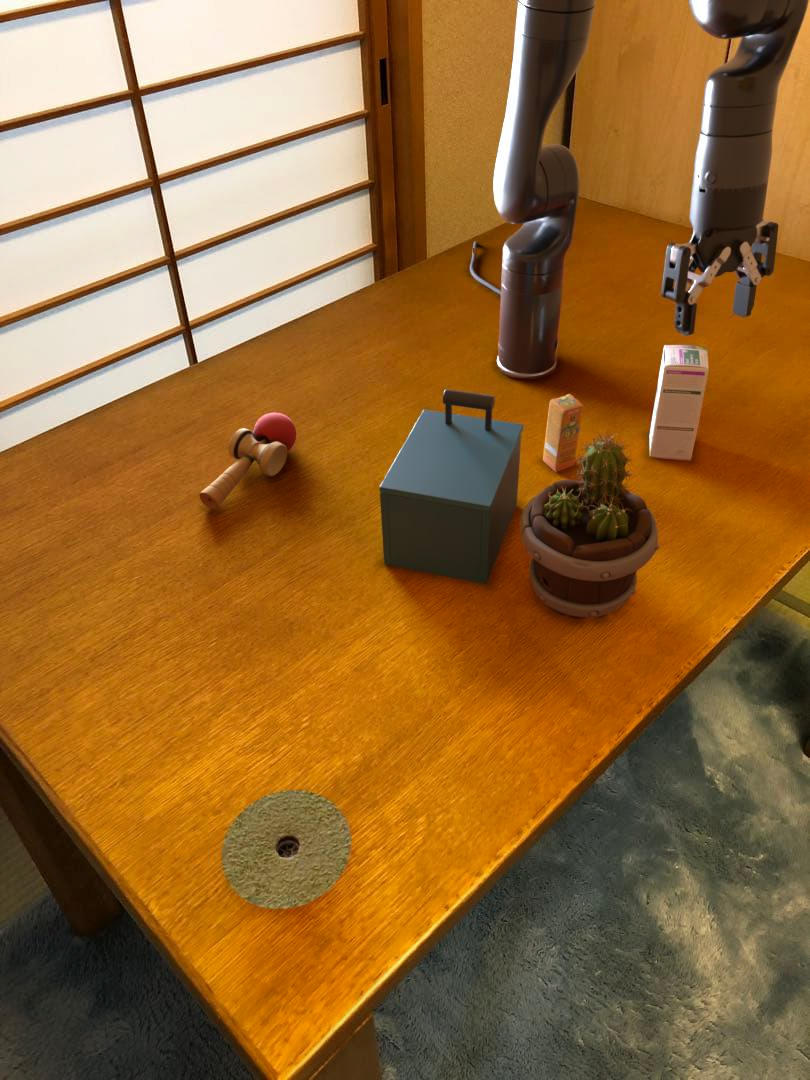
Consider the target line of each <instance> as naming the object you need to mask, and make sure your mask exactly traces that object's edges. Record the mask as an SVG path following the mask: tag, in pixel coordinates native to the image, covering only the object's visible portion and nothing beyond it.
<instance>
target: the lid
mask: <svg viewBox="0 0 810 1080" xmlns="http://www.w3.org/2000/svg"><path fill="white" fill-rule="evenodd" d="M442 404H443V405H444V412H443V411H438V410H431V409H423V410H422V411H421V414H420V415H419V417H418V418H417V420H416V422H415V423H414V426H413V428H412V429H411V431H410V433H409V434H408V437H407V438H406V440H405V442H404V443H403V445H402V447H401V449H400V450H399V452H398V453H397V455H396V457H395V459H394V461H393V462H392V464H391V466H390V467H389V469H388V471H387V473H386V475H385V477H384V479H383V480H382V481H381V483H380V485H379V494H380V493H386V494H391V495H397V496H403V497H408V498H414V499H419V500H425V501H431V502H436V503H442V504H448V505H453V506H459V507H465V508H470V509H476V510H481V511H487V512H490V511H491V508H492V506H493V503H494V501H495V499H496V496H497V494H498V491H499V489H500V486H501V484H502V481H503V479H504V476H505V474H506V471H507V469H508V466H509V464H510V461H511V459H512V456H513V454H514V451H515V449H516V446H517V444H518V441H519V439H520V436H521V437H522V433H523V431H524V426H525V425H524V424H523V423H517V422H510V421H503V420H498V419H493V410H494V408H495V404H496V397H495V395H490V394H485V393H477V392H472V391H471V392H470V391H465V390H464V391H463V390H457V389H451V388H449V389H448V388H445V389H444V391H443V395H442ZM453 406H454V407H462V408H468V409H476V410H481V411H482V410H483V411H485V415H484V416H485V417H478V416H470V415H463V414H458V413H457V414H456V413H453Z"/></svg>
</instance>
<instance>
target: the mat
mask: <svg viewBox="0 0 810 1080" xmlns="http://www.w3.org/2000/svg"><path fill="white" fill-rule="evenodd" d="M236 816H237V817H236V818H234V820H233V821H232V822H231V824H230V826H229V827H228V829H227V832H226V834H225V836H224V839H223V843H222V848H221V859H220V861H221V864H222V871H223V873H224V876H225V878H226V881H227V882H228V883H229V885H230V887H231V889H232V890H233V891H234V892H235V893H236V894H237V895H238V896H239V897H240V898H241V899H243V900H244V901H245V902H247V903H250V904H251V905H254V906H257V907H260V908H261V907H262V908H263V909H273V910H277V909H278V910H280V909H281V910H283V909H292V908H298V907H302V906H303V905H307V904H309V903H311V902H313V901H315V900H317V899H319V897H321V896H323V895H324V894H325V893H326V892H328V891H329V890H330V889H331V888H333V886H334V885H335V883H336V882H337V881H338V880H339V879H340V878H341V877H342V875H343V873H344V871H345V869H346V867H347V865H348V863H349V859H350V856H351V850H352V834H351V829H350V826H349V823H348V819H346V818H345V816H344V813H342V811H341V809H340V808H339V807H338V806H337V805H336V804H335V803H334V802H332V801H331V800H330V799H327V798H326V797H325V796H322V795H321V794H317V793H316V792H313V791H312V792H311V791H308V790H302V789H299V790H298V789H289V790H281V791H277V792H272V793H270V794H266V795H264V796H261V797H259V798H258V799H255V800H254V802H252V803H250V804H249V805H247V807H245V808H244V809H243V810H242V811H241V812H239V814H238V815H236Z"/></svg>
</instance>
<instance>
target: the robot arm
mask: <svg viewBox="0 0 810 1080" xmlns="http://www.w3.org/2000/svg"><path fill="white" fill-rule="evenodd" d="M687 2H688V5H689V8H690V11H691V14H692V16H693V18H694V20H695V22H696V23H697V25H698V27H700V29H702V30H703V31H704V32H705V33H707V34H708V35H709V36H711V37H713V38H715V39H720V40H733V39H738V38H739V39H740V41H739V43H738V46H737V48H736V51H735V53H734V55H733V56H732V57H731V59H729V60H728V61H727V62H725V63H724V64H722V65H720V66H718V67H716V68H714V69H713V70H712V71H710V73H708V76H707V78H706V81H705V85H704V90H703V98H702V110H701V118H700V119H701V121H700V131H699V137H698V142H697V146H696V150H695V157H694V166H693V178H692V187H691V195H690V196H691V198H690V207H689V221H690V223H691V226H692V231H693V232H692V235H691V238H690V240H689V242H686V243H685V242H684V243H676V242H670V243H669V244H668V245H667V247H666V251H665V260H664V266H663V267H664V268H663V275H662V283H661V290H660V295H661V297H662V298H665V299H667V300H670V301H672V302H674V303H675V311H674V322H673V326H674V329H675V330H676V331H677V333H679V334H681V335H683V336H686V337H688V336H691V335H693V334H694V333H695V329H696V317H697V307H698V303H697V300H698V298H699V296H700V295H701V294H702V292H703V290H704V289H705V288H708V287H710V285H711V283H712V282H713V280H714V279H715V278H717V277H721V276H722V275H724V274H725V273H734V274H735V276H736V278H737V280H739V281H736V282H735V288H734V295H733V304H732V313H733V315H735V316H739V317H740V318H747V317H750V316H751V315H752V311H753V309H754V305H755V300H756V294H757V287H758V285H759V284H760V283H761V280H762V278H764V277H766V276H767V277H770V276H771V275H772V274H773V273H774V270H775V264H776V263H775V262H776V254H777V253H776V252H777V244H778V236H779V235H778V234H779V223H777V222H774V221H770V220H767V219H764V213H765V206H766V199H767V192H768V186H769V177H770V170H771V163H772V155H773V131H774V122H775V117H776V108H777V101H778V93H779V87H780V83H781V79H782V78H783V75H784V72H785V70H786V68H787V65H788V63H789V60H790V57H791V55H792V53H793V49H794V47H795V44H796V41H797V39H798V36H799V33H800V31H801V28H802V25H803V22H804V21H805V20H804V19H805V17H806V13H807V11H808V6H809V2H810V0H687ZM595 6H596V0H517V9H516V16H515V17H516V19H515V27H514V40H513V43H514V44H513V54H512V55H513V56H512V64H511V72H510V79H509V86H508V93H507V101H506V108H505V114H504V119H503V122H502V123H503V124H502V128H501V134H500V138H499V143H498V148H497V154H496V158H495V164H494V171H493V179H492V180H493V181H492V182H493V184H492V185H493V186H492V191H493V200H494V205H495V208H496V210H497V213H498V214H499V216H500V218H501V219H502V220H503V221H504V222H506V223H508V224H511V225H519V224H520V225H521V224H522V226H521V227H520V228H519V229H517V230H516V232H514V233H513V234H512V235H510V236H509V237H508V238H507V239H506V241H505V242H504V244H503V246H502V256H501V260H502V261H501V280H500V289H499V288H497V287H496V286H494V285H493V284H491V283H490V282H488V281H486V280H485V279H483V278H482V277H481V276H480V275H478V274H477V273H476V271H475V265H476V260H477V252H476V253H475V254H474V253H473V252H472V254H471V260H470V264H469V272H470V274H471V276H472V277H473V278H474V280H476V281H477V282H478V283H480V284H482V285H483V286H485V287H486V288H488V289H490V290H491V291H493V292H494V293H496V294H498V295H499V296H500V307H499V325H498V328H499V329H498V350H497V354H498V355H497V359H496V366H497V369H498V370H499V371H500V372H501V373H502V374H504V375H505V376H508V377H511V378H513V379H517V380H538V379H542V378H545V377H548V376H550V375H551V374H553V373H554V372H555V370H556V369H557V354H558V347H559V343H560V338H559V332H560V331H559V330H560V320H561V309H562V300H563V299H562V298H563V286H564V275H565V265H566V264H565V263H566V256H567V253H568V251H569V249H570V248H571V245H572V242H573V237H574V230H575V223H576V216H577V208H578V204H579V203H578V202H579V195H580V171H579V166H578V163H577V160H576V158H575V156H574V154H573V153H572V152H571V150H570V149H569V148H568V147H566V146H565V145H562V144H560V143H550V144H546V145H543V142H544V138H545V133H546V130H547V127H548V124H549V121H550V119H551V117H552V114H553V112H554V110H555V108H556V106H557V104H558V103H559V101H560V99H561V98H562V96H563V94H564V93H565V91H566V90H567V88H568V86H569V85H570V83H571V81H572V80H573V78H574V76H575V74H576V73H577V71H578V69H579V67H580V65H581V63H582V61H583V59H584V57H585V55H586V52H587V49H588V47H589V42H590V37H591V32H592V31H591V30H592V25H593V20H594V19H593V18H594V13H595ZM473 248H474V249H476V248H477V249H478V241H476V240H475V241H474V242H473V245H472V249H473ZM762 256H763V262H762ZM697 269H698V270H699V272H701V274H698V273H695V272H696V271H697ZM691 284H692V285H691ZM689 288H690V290H689Z"/></svg>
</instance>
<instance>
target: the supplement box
mask: <svg viewBox="0 0 810 1080" xmlns="http://www.w3.org/2000/svg"><path fill="white" fill-rule="evenodd" d="M583 410H584V405H583V404H582V403H581V401H579V400H578V399H577V398H576V397H574V395H572V394H571V393H568V394H566V395H564V396H561V397H557V398H552V399H550V400H549V406H548V415H547V422H546V423H547V424H546V429H545V430H546V431H545V439H544V447H543V456H542V461H543V462H544V463H545V465H547V466H548V467H549V468H550V469H552V470H553V471H555V473H557V472H560V471H563V470H565V469H568V468H571V467H574V466H575V462H576V459H575V458H576V455H577V450H578V442H579V435H580V430H581V423H582V416H583ZM574 457H575V458H574Z"/></svg>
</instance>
